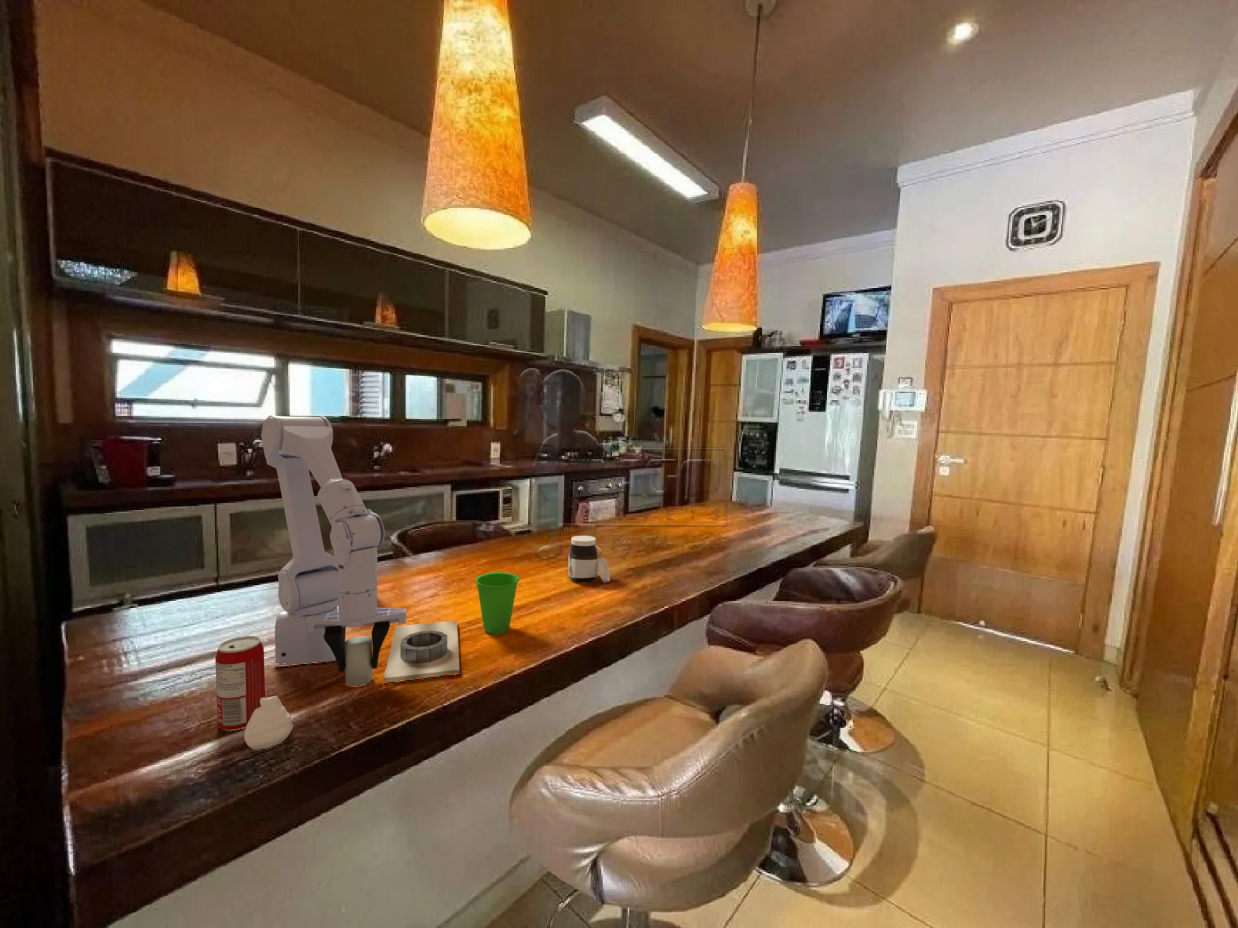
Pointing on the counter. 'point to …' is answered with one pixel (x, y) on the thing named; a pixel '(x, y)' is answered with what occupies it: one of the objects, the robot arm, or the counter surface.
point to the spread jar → (586, 561)
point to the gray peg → (358, 660)
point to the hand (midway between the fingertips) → (358, 667)
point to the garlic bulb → (268, 724)
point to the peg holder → (423, 651)
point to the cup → (497, 600)
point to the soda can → (239, 680)
